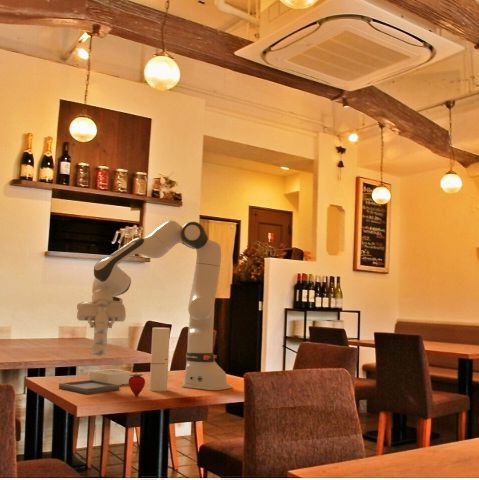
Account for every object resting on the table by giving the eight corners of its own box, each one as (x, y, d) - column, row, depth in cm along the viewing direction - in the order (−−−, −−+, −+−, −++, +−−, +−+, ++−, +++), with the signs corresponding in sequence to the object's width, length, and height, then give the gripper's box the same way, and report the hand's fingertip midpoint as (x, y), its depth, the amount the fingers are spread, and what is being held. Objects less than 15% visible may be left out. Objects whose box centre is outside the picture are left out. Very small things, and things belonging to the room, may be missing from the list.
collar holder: (130, 383, 241) (131, 371, 241) (107, 386, 231) (108, 374, 232) (112, 380, 249) (113, 368, 249) (89, 382, 239) (90, 371, 239)
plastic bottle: (95, 356, 227) (98, 307, 229) (88, 355, 232) (91, 307, 234) (109, 356, 231) (113, 308, 233) (102, 354, 236) (106, 307, 238)
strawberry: (133, 398, 205) (134, 371, 206) (124, 395, 211) (126, 368, 212) (147, 397, 208) (149, 370, 210) (138, 394, 215) (140, 368, 216)
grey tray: (119, 389, 224) (119, 384, 224) (86, 394, 211) (86, 388, 211) (91, 384, 235) (92, 379, 235) (58, 388, 222) (59, 383, 223)
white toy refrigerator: (170, 389, 228) (173, 328, 230) (158, 391, 222) (161, 328, 224) (157, 387, 232) (160, 327, 234) (145, 389, 226) (148, 327, 228)
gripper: (77, 297, 238) (75, 321, 228) (125, 298, 243) (126, 322, 233) (77, 307, 242) (75, 331, 232) (124, 308, 247) (124, 332, 237)
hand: (101, 326), depth 232 cm, fingers closed on plastic bottle, 6 cm apart
